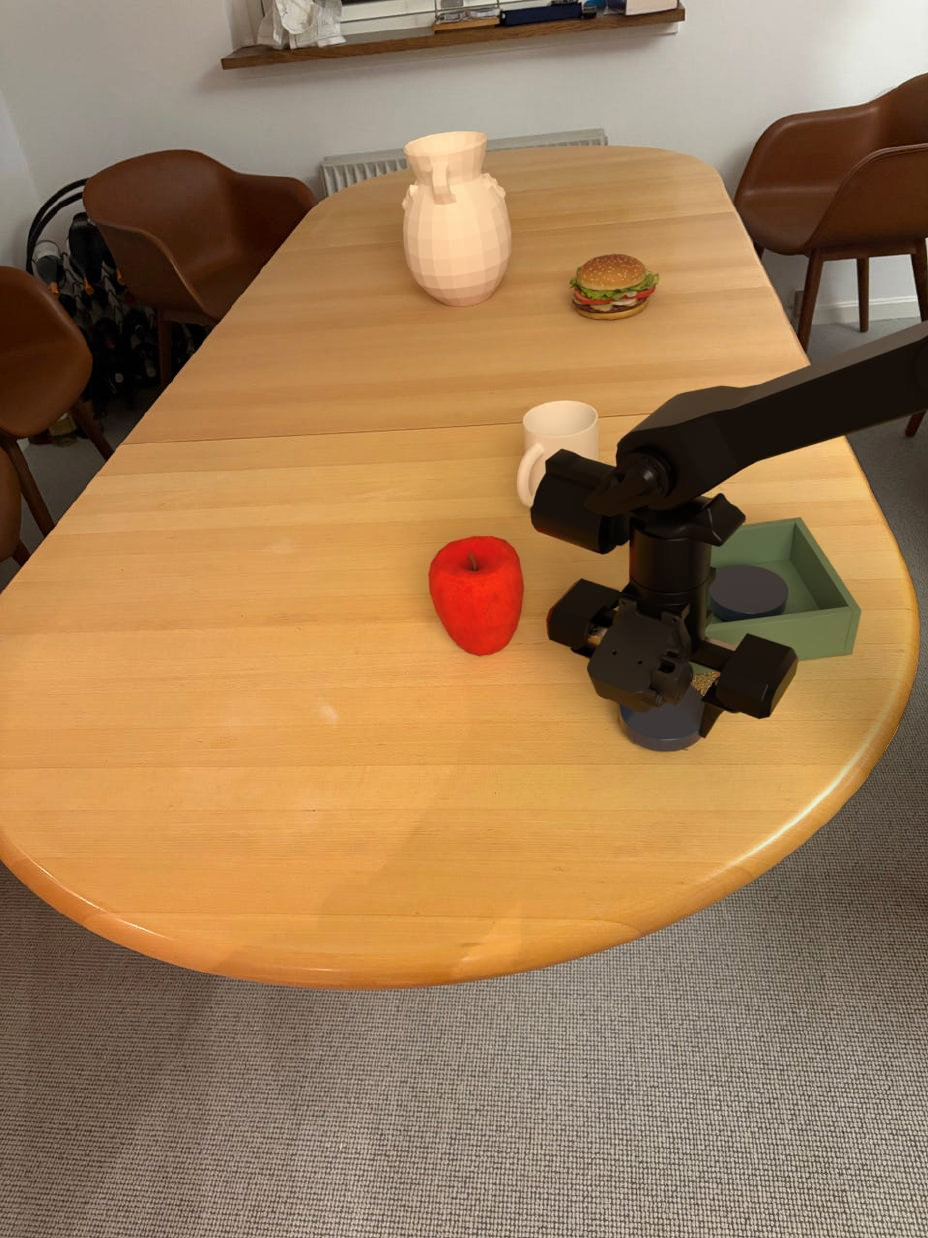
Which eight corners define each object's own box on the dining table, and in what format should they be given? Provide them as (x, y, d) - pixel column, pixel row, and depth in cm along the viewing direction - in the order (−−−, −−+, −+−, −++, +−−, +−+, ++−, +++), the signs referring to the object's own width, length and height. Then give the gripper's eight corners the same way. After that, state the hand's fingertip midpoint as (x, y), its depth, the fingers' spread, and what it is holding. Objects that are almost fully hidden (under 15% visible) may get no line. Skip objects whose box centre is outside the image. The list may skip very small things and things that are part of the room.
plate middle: (693, 692, 77) (695, 671, 75) (717, 754, 72) (719, 733, 70) (611, 702, 77) (611, 682, 76) (629, 765, 72) (629, 745, 70)
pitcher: (426, 279, 165) (404, 131, 149) (523, 274, 161) (512, 121, 145) (401, 319, 151) (374, 160, 135) (506, 315, 147) (492, 151, 131)
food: (671, 312, 140) (673, 261, 135) (587, 330, 139) (586, 279, 134) (638, 285, 151) (639, 236, 146) (560, 301, 149) (558, 252, 144)
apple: (478, 600, 90) (466, 512, 83) (547, 630, 86) (541, 539, 79) (421, 650, 85) (403, 561, 79) (492, 684, 81) (479, 592, 74)
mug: (550, 541, 97) (545, 459, 90) (494, 518, 101) (484, 439, 95) (614, 490, 103) (613, 410, 96) (557, 471, 108) (553, 393, 101)
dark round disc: (770, 580, 86) (773, 560, 85) (796, 628, 81) (800, 607, 79) (697, 590, 87) (698, 570, 85) (718, 638, 81) (720, 617, 79)
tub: (794, 558, 90) (800, 516, 86) (852, 654, 78) (862, 610, 75) (651, 577, 90) (652, 536, 87) (688, 675, 79) (691, 633, 75)
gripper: (500, 592, 64) (516, 737, 74) (749, 682, 54) (729, 834, 64) (578, 515, 70) (584, 658, 80) (814, 583, 61) (786, 735, 71)
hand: (662, 717), depth 74 cm, fingers closed on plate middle, 7 cm apart
